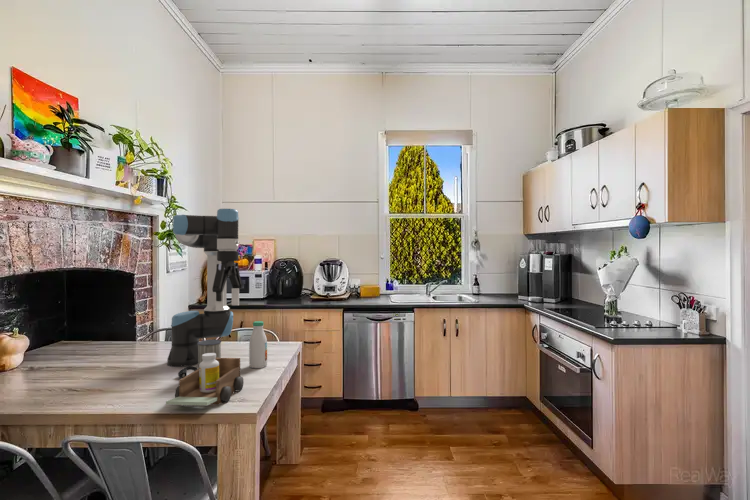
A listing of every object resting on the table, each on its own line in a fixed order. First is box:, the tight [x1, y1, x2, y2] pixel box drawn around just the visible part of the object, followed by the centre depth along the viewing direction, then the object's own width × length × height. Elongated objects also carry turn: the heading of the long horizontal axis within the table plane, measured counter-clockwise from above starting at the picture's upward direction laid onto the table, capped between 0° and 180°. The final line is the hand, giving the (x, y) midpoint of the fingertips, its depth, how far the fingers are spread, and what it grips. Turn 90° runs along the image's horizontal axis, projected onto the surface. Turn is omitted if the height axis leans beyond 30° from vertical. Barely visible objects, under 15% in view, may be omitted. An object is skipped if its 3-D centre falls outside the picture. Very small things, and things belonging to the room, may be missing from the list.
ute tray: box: [174, 357, 245, 405], centre depth 150 cm, size 18×18×11 cm
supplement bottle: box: [199, 353, 219, 393], centre depth 149 cm, size 7×7×13 cm
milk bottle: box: [248, 320, 268, 369], centre depth 187 cm, size 8×8×20 cm
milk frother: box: [177, 338, 222, 379], centre depth 170 cm, size 14×16×15 cm
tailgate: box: [165, 397, 217, 407], centre depth 136 cm, size 14×2×7 cm
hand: (228, 307), depth 155 cm, fingers open, 13 cm apart
